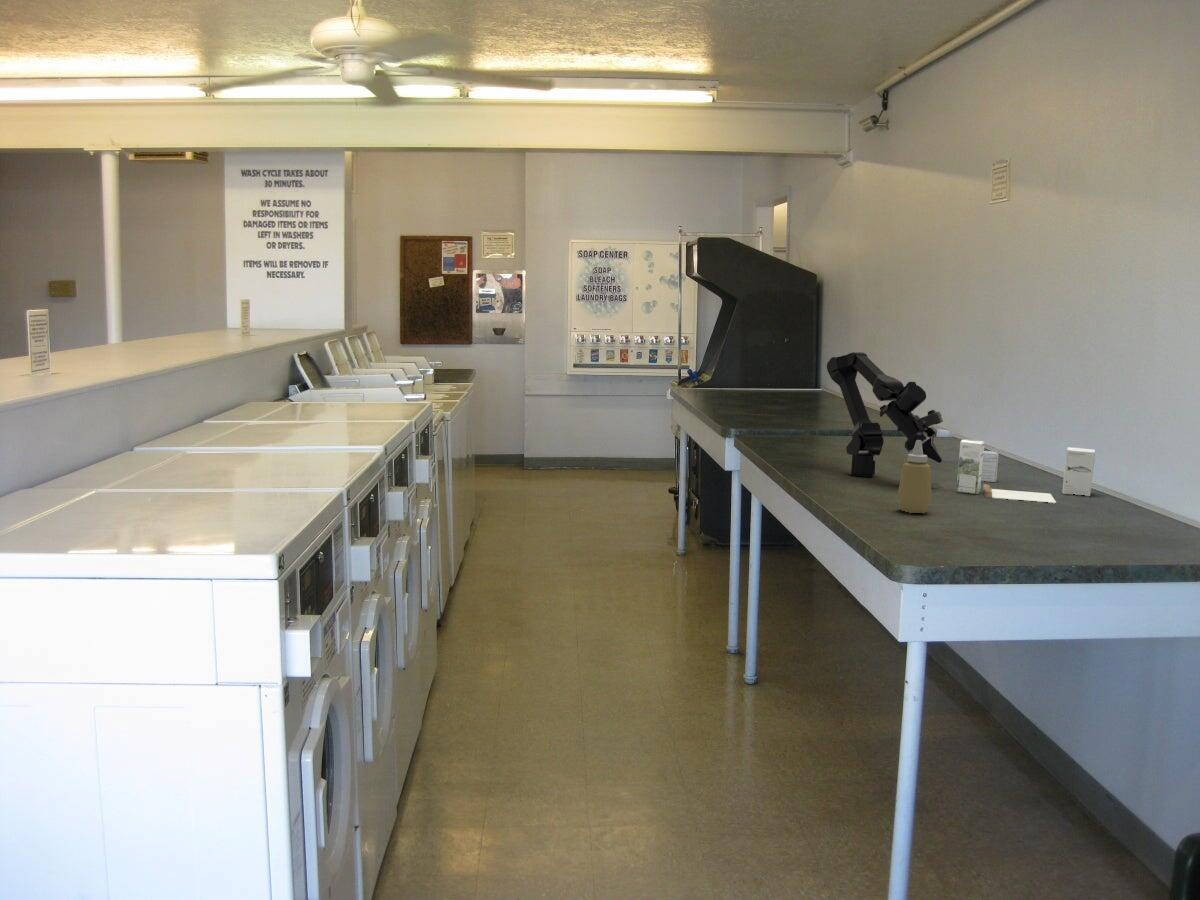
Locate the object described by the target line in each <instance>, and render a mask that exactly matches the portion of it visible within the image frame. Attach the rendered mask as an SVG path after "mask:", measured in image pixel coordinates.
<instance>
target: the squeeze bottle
mask: <svg viewBox="0 0 1200 900" xmlns="http://www.w3.org/2000/svg"><path fill="white" fill-rule="evenodd" d="M927 462H928V457H927V455H923V449H922V442H921V440H916V443H915V446H914V448H913V449H912V453H909V454H907V462H904V463H903V464H902V470H901V474H900V481H899V485H898V490H897V501H898V503H899V508H900V511H901V510H902V511H901V512H903V511H905V512H904V513H906V512H910V513H909V514H911V513H922V514H926V512H927V510H928V508H929V505H930V503H931V501H932V479H931V477H932V476H931V475H932V473H931V472H932V471H931V469H932V468H931V466H930V465H929V464H928V463H927Z"/></svg>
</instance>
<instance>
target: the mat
mask: <svg viewBox="0 0 1200 900" xmlns="http://www.w3.org/2000/svg"><path fill="white" fill-rule="evenodd" d="M991 490H992V499H994V500H995V499H996V500H1006V499H1008V500H1010V501H1018V500H1024V501H1023V502H1030V501H1037V502H1036V503H1042V502H1048V503H1047V504H1055V503H1056V504H1057V501H1056V500H1055V498H1054V497H1053V495H1052V494H1051V493H1047V492H1035V491H1034V492H1033V491H1022V490H1021V491H1020V490H1007V489H998V488H991Z"/></svg>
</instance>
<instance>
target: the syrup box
mask: <svg viewBox="0 0 1200 900" xmlns="http://www.w3.org/2000/svg"><path fill="white" fill-rule="evenodd" d="M984 451H985V440H977V439H965V438H963V439H961V440H960V442H959V455H958V465H957V466H958V467H957V475H956V476H957V479H956V489H955V490H956V491H955V492H956V493H962V494H968V493H969V494H970V495H978V494H979V493H981V486H982V484H981V483H982V481H981V474H982V464H983V454H984Z"/></svg>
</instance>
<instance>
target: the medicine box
mask: <svg viewBox="0 0 1200 900" xmlns="http://www.w3.org/2000/svg"><path fill="white" fill-rule="evenodd" d="M999 456H1000V455H999V453H998V452H996V451H989V450H984V454H983V464H982V474H981V482H984V481H985V482H987V483H990V482H991V483H997V476H998V467H999V466H998V465H999V464H998V463H999Z"/></svg>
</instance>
